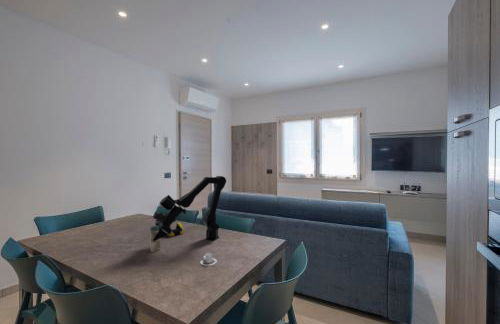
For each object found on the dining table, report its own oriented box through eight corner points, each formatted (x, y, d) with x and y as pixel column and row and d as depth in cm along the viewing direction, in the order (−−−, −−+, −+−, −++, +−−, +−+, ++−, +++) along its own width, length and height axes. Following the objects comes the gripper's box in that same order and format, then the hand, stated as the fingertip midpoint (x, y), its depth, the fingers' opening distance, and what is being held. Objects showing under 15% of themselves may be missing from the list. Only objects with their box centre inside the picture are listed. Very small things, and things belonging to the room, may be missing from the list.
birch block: (158, 247, 129) (158, 225, 129) (160, 250, 125) (159, 227, 125) (150, 249, 127) (149, 226, 127) (151, 251, 123) (150, 228, 123)
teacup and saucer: (202, 258, 115) (202, 250, 115) (218, 258, 115) (218, 250, 115) (198, 266, 107) (198, 257, 107) (215, 266, 106) (215, 257, 106)
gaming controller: (159, 235, 150) (166, 238, 143) (158, 227, 150) (166, 230, 143) (179, 230, 161) (187, 232, 155) (179, 222, 161) (187, 224, 154)
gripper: (159, 203, 136) (138, 225, 130) (165, 209, 120) (142, 234, 114) (173, 215, 140) (154, 236, 134) (180, 222, 124) (159, 246, 118)
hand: (152, 238), depth 125 cm, fingers open, 9 cm apart
